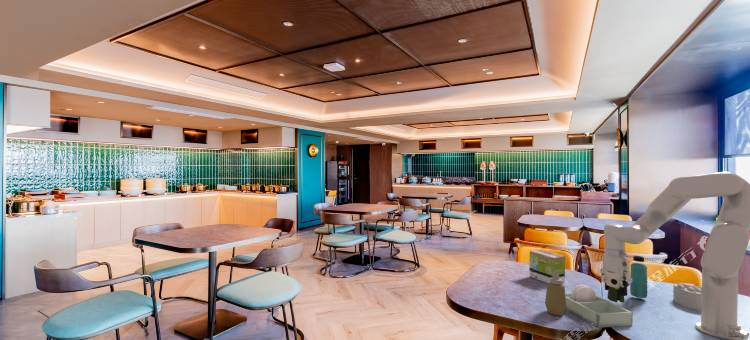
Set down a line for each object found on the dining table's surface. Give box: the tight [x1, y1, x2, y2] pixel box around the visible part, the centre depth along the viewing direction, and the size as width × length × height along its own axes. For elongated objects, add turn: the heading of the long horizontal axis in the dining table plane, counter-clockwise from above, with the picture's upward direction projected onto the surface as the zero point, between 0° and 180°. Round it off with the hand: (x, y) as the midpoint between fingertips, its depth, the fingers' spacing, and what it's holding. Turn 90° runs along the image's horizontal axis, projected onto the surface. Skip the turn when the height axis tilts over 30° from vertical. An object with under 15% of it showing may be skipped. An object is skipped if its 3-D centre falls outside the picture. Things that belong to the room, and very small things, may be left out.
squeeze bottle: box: [544, 270, 567, 317], centre depth 143 cm, size 8×8×18 cm
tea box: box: [528, 249, 566, 284], centre depth 186 cm, size 15×10×15 cm, turn 25°
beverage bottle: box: [629, 255, 649, 299], centre depth 160 cm, size 6×7×20 cm
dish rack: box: [565, 292, 634, 329], centre depth 142 cm, size 22×15×5 cm
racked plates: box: [571, 284, 597, 301], centre depth 148 cm, size 3×9×9 cm, turn 98°
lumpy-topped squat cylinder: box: [672, 282, 702, 311], centre depth 154 cm, size 10×13×9 cm
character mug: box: [600, 271, 626, 303], centre depth 151 cm, size 11×7×13 cm, turn 74°
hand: (615, 292), depth 151 cm, fingers closed on character mug, 7 cm apart
